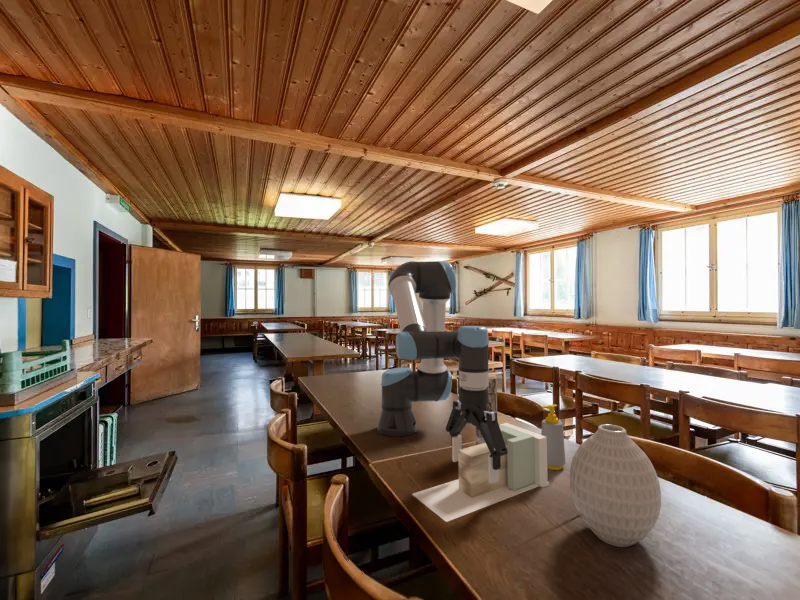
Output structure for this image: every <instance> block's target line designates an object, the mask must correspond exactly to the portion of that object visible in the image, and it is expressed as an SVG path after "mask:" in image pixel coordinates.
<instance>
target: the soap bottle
mask: <svg viewBox="0 0 800 600" xmlns="http://www.w3.org/2000/svg"><path fill="white" fill-rule="evenodd" d="M555 407H558V405H557V404H555V403H553V404H550V405H549V404H547V405H542V406H541V408H542V409H547V410H548V411H549V412H550V413H548V414H547V417H545V419H543V420H541V434H540V435H543V436H545V437H547V470H553V471H561V470H563V468H564V466H565V465H566V449H565V438H564V436H565V435H564V423H563V422H562V421H561V420H559V418H558V417H557V414H555Z"/></svg>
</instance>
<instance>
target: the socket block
mask: <svg viewBox="0 0 800 600" xmlns="http://www.w3.org/2000/svg"><path fill="white" fill-rule="evenodd" d="M499 427H500V430H501V433H502V436H503V439H504V440H505V441H507V451H508V453H507V476H508V487H509V488H511V489H512V490H516V489H518V488H521V487H524V486H526V485H529V484H532V483H534V482H535V444H534V436H532V435H529V434H527V433H524V432H521V431H518V430H516V429H513V428H510V427H507V426H505V425H501V426H499ZM482 439H483V436H482ZM483 443H485V441H484V439H483Z"/></svg>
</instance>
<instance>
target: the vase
mask: <svg viewBox="0 0 800 600" xmlns="http://www.w3.org/2000/svg"><path fill="white" fill-rule="evenodd" d="M660 483H661V482H660V480H659V477H658V474H657V472H656V470H655V467H654V465H653V463H652V462H651V460H650V458H649V457H648V456H647V454H646V453H645V452H644V451H643V449H641V448H640V447H639V445H637V443H636V442H635V441H634V440H633V439H632V438H631V437H629V435H628V434H627V429H625V428H624V427H622V426H620V425H615V424H608V423H606V424H600V425H598V426H597V430H596V432H595V433H593V434H592V435H590V436H589V437H588V438H586V439H585V440H584V441H583V442H582V443H581V444H580V445H579V446H578V448H577V450H576V451H575V453H574V455H573V457H572V460H571V464H570V470H569V487H570V492H571V497H572V501H573V502H574V505H575V507H576V510H577V512H578V513H579V515H580V517H581V519H582V520H583V521H584V523H585V525H586V526H587V527H588V528H589V529H590V530H591V531H592V532H593V534H594V535H595V536H596V537H597V538H598V539H599V540H600V541H603V542H604V543H605V544H608V545H611V546H614V547H618V548H619V547H620V548H628V547H631V546H633V545H635V544H637V543H639V542H640V541H641V542H642V540H643V539H644V538H646V537H647V536H648V534H650V532H651V531H652V530H653V528H655V526H656V524H657V521H658V519H659V516H660V513H661V508H662V491H661V484H660Z"/></svg>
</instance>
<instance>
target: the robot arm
mask: <svg viewBox="0 0 800 600" xmlns="http://www.w3.org/2000/svg"><path fill="white" fill-rule="evenodd" d="M455 273H456V272H455V270H454V267H453V265H452V264H451V263H449V262H447V261H440V260H439V261H436V260H435V261H415V260H414V261H412V260H411V261H406V262H404V263H402V264H400V265H398V266H397V267H396V268H395V269H394V270H393V272H392V273H391V275H390V277H389V279H388V284H387V285H388V291H389V294H390V295H391V297H393V302H394V305H395V311H396V316H397V320H398V325H399V331H400V332H398V333H397V334H396V336H395V353H396V357H397V358H398V359H399V360H411V361H412V360H413V361H415V360H421V361H420V363H419V364H417V368H416V370H415V371H414V370H413V369H412V368H411V367H407V366H403V367H402V366H401V367H394V368H389V369H387V370H385V371H384V372H382V374H381V383H380V386H381V411H380V414H379V418H378V422H377V425H376V427H377V428H376V429H377V432H378V433H379V434H380V435H383V436H387V437H403V436H404V437H405V436H406V437H407V436H409V435H413V434H414V433H416V432H417V431H418V430H417V421H416V418H415V416H414V411H413V406H412V405H413V403H417V402H419V403H420V402H441V401H446V400H447V399H448V398H449V397H450V395H451V392H452V387H453V386H452V385H453V382H452V381H453V380H452V378H453V377H452V373H451V371H450V370H449V369H448V366H447V365H446V364H445V363H444V360H445V359H458V385H459V387H458V399H457V400H453V401H452V410H451V412H450V415H449V418H448V421H447V424H446V426H445V431H446V432H448V433H449V435H450V438H451V440H450V441H451V442H450V443H451V444H450V445H451V448H452V450H451V453H452V454H451V458H452V459H451V460H452V462H453V463H456V462H458V450H460V449H463V448H462V447H463V444H462V443H463V442H462V441H463V439H462V438H463V436H462V433H461V432H463V430H464V428H465V427H466V425H467V424H471V425H472V426H475V428H476V427H477V429H478V430H480V432H481V434H482V436H483V439H484V441H485V443H486V445H487V447H488V449H489V451H490V453H491V454H490V455H488V481H489V483H494V482H497V481H499V469H500V467H501V465H500V464H501V456H503V455H506V454H507V453H508V451H507V448H506V445H505V442H504V439H503V436H502V433H501V430H500V427H499V421H498V412H497V413H496V412H495V411H493V412H488V411H487V408H486V406H487V404H488V402H489V389H488V388H487V387H488V386H489V374H490V373H489V344H490V343H489V342H490V340H489V331H488V328H487V327H486V326H483V325H480V326H479V325H462V326H460V327H459V328H458V329H454V330H451V331H450V330H449V331H448V330H446V308H447V307H446V306H447V302H449V300H450V299H451V294H453V293H455V292H456V288H457V281H456V279H457V278H456V274H455ZM417 294H418V297H417ZM418 298H419V299H420V301H422V310H421V306H420V304H419V300H418ZM483 422H484V424H482V423H483ZM494 448H495V450H494Z"/></svg>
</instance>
